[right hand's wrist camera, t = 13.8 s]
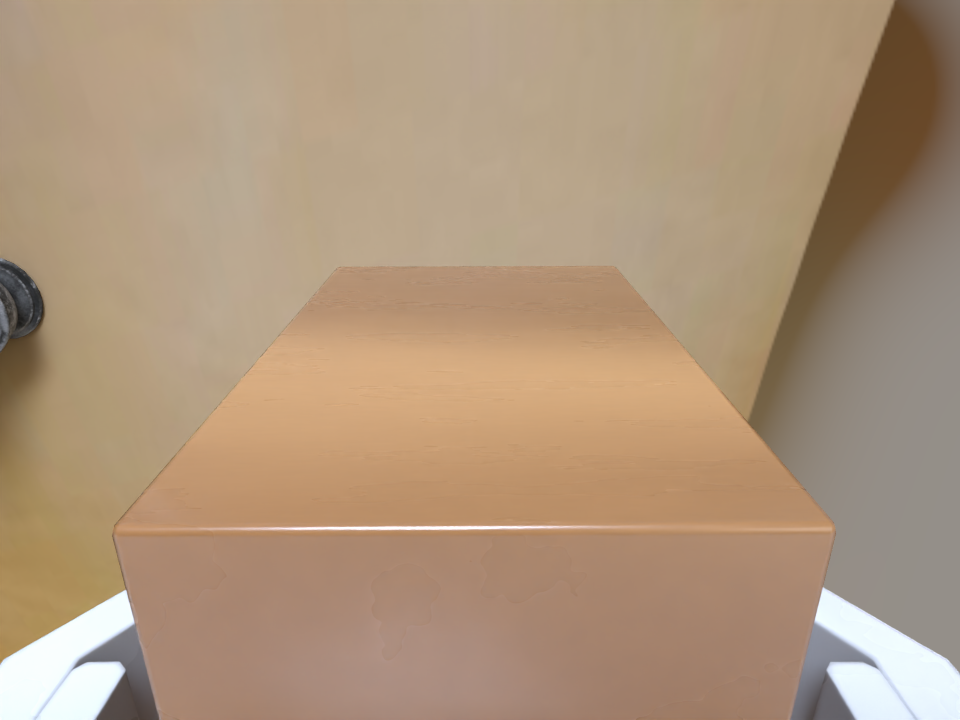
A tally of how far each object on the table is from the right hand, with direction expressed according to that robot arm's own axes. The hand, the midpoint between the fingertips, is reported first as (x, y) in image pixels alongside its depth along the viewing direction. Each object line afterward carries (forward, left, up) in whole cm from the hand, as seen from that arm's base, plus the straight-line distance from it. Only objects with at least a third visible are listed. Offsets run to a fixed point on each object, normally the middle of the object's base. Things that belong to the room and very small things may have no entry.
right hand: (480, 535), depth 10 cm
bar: (+6, +5, -3) cm, 8 cm away
